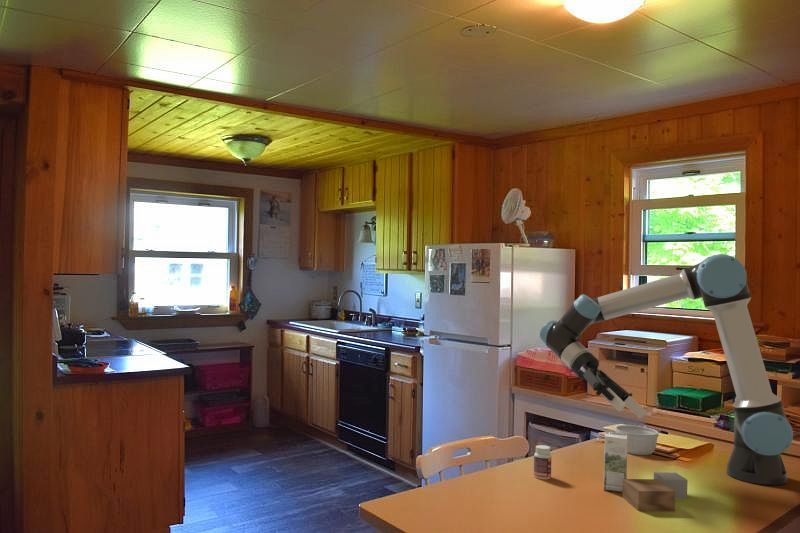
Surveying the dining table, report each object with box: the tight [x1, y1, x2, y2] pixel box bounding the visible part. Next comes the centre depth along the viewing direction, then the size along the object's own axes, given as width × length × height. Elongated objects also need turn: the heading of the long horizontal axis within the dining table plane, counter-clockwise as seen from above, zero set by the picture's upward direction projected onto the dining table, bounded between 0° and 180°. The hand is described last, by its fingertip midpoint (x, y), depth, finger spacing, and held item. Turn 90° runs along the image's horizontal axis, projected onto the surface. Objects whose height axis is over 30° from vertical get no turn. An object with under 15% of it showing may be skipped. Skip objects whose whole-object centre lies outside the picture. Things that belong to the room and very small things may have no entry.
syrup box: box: [603, 431, 628, 494], centre depth 165 cm, size 6×6×14 cm
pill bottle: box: [533, 444, 553, 480], centre depth 174 cm, size 5×5×8 cm
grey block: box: [653, 471, 688, 500], centre depth 162 cm, size 6×6×5 cm
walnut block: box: [622, 478, 676, 512], centre depth 154 cm, size 9×9×5 cm
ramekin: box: [614, 424, 659, 456], centre depth 204 cm, size 13×13×7 cm
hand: (633, 412), depth 167 cm, fingers open, 13 cm apart
